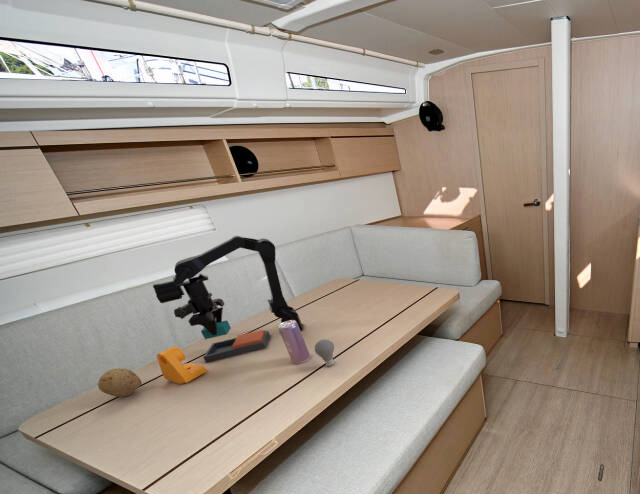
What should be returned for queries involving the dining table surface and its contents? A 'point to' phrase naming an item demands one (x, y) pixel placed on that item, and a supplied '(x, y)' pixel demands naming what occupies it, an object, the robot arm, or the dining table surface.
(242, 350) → the pad tray
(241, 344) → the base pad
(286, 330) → the beverage can
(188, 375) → the bracket
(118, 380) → the potato
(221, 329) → the teal pad
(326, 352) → the light bulb
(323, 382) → the dining table surface
